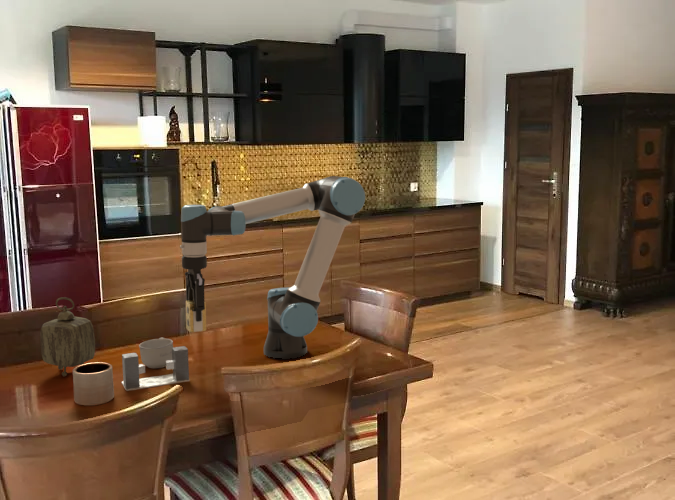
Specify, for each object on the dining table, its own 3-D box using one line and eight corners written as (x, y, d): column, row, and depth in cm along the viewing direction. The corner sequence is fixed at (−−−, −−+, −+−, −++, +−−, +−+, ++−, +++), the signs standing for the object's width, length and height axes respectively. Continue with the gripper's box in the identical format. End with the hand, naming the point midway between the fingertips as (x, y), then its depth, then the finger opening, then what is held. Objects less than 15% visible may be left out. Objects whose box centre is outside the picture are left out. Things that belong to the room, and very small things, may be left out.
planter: (80, 393, 208) (78, 362, 206) (118, 392, 208) (116, 361, 207) (69, 407, 197) (67, 374, 195) (109, 406, 198) (107, 373, 196)
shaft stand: (182, 373, 225) (181, 343, 223) (189, 380, 218) (188, 349, 216) (121, 382, 217) (119, 351, 215) (126, 391, 209) (124, 358, 208)
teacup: (165, 372, 227) (164, 347, 225) (134, 369, 229) (132, 346, 228) (183, 358, 240) (182, 336, 239) (153, 357, 242) (152, 334, 241)
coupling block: (202, 326, 224) (201, 299, 223) (206, 330, 220) (206, 302, 219) (185, 328, 222) (185, 300, 221) (190, 332, 218) (189, 304, 216)
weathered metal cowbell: (96, 372, 226) (92, 296, 223) (77, 381, 218) (72, 302, 214) (59, 367, 231) (54, 293, 227) (40, 376, 223) (34, 299, 219)
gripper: (174, 251, 224) (176, 323, 227) (190, 260, 208) (191, 337, 211) (198, 250, 227) (199, 320, 230) (214, 258, 211) (215, 334, 215)
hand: (195, 328), depth 221 cm, fingers closed on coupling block, 5 cm apart
